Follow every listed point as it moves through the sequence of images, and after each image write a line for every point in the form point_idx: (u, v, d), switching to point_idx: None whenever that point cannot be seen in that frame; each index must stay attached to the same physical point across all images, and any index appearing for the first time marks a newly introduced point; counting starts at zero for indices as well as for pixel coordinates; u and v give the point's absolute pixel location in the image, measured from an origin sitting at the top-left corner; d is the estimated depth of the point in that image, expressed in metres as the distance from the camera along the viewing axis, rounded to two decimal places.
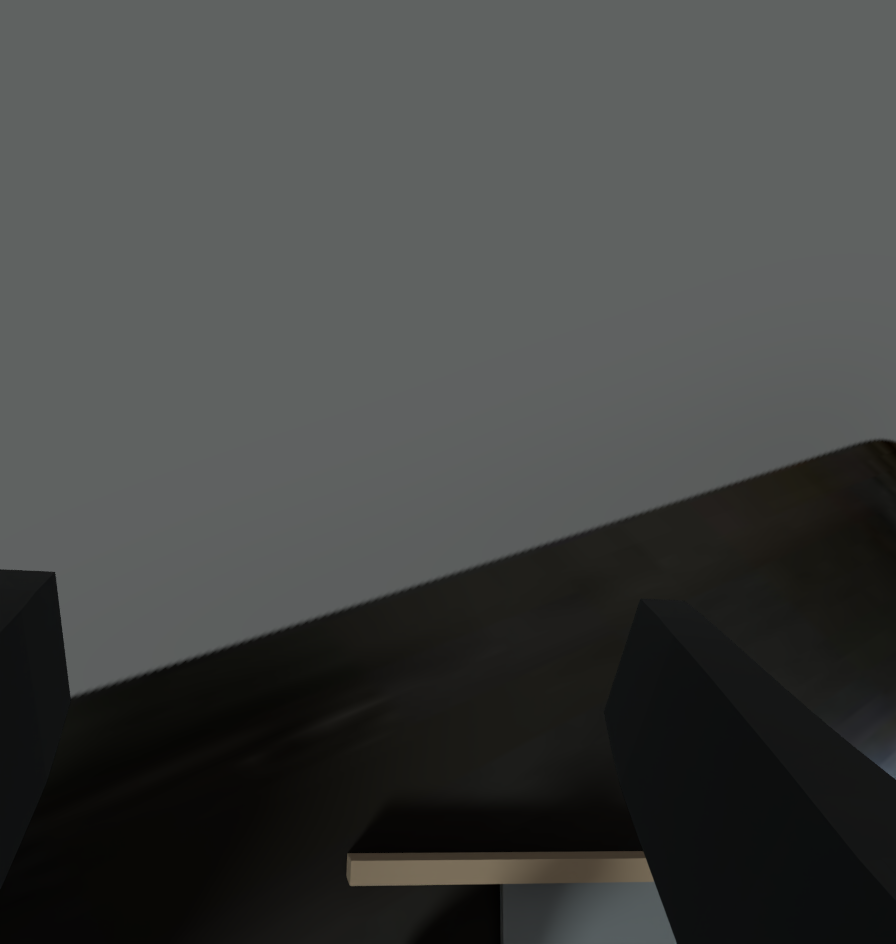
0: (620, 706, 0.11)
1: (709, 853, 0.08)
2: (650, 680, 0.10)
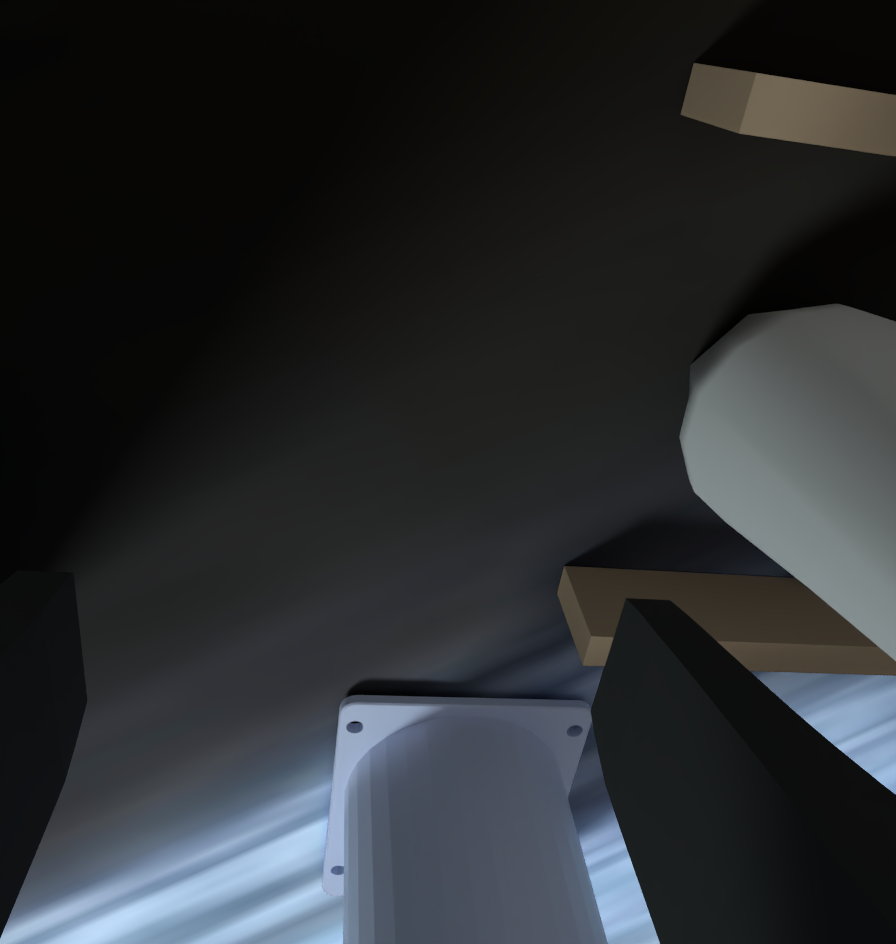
0: (606, 706, 0.11)
1: (692, 853, 0.08)
2: (635, 680, 0.10)
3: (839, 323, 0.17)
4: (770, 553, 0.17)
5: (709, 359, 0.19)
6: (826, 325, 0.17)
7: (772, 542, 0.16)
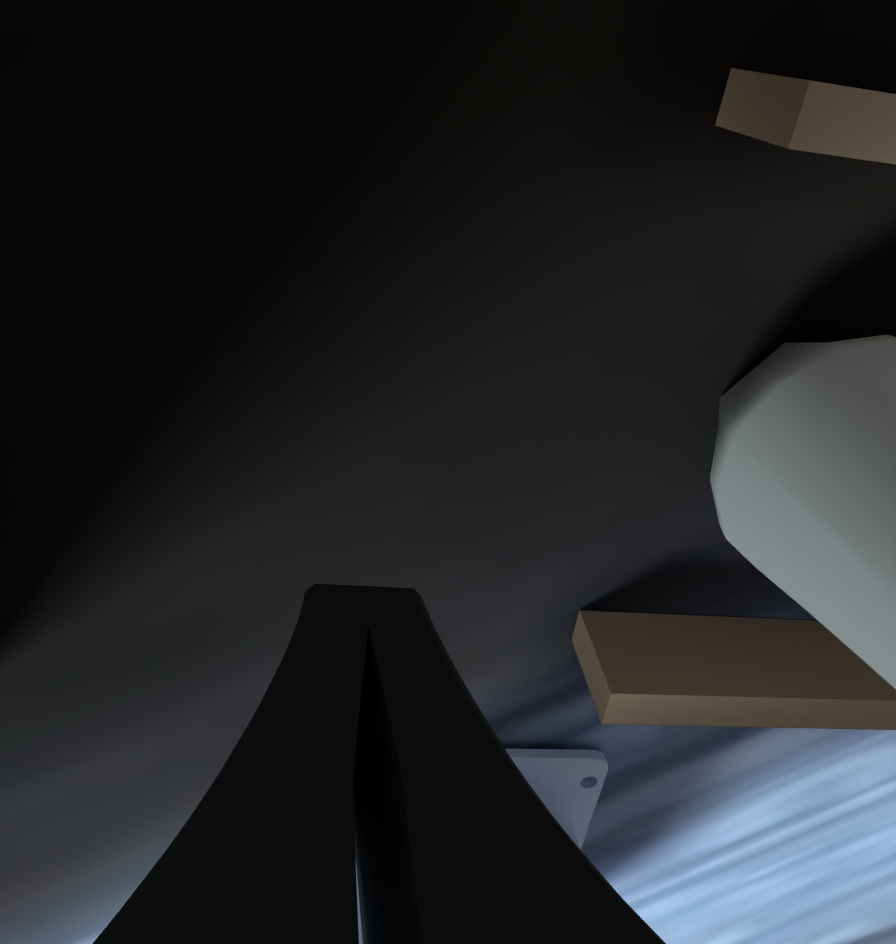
0: None
1: (374, 856, 0.08)
2: None
3: (893, 358, 0.15)
4: (816, 616, 0.15)
5: (742, 393, 0.17)
6: (878, 361, 0.15)
7: (819, 604, 0.15)
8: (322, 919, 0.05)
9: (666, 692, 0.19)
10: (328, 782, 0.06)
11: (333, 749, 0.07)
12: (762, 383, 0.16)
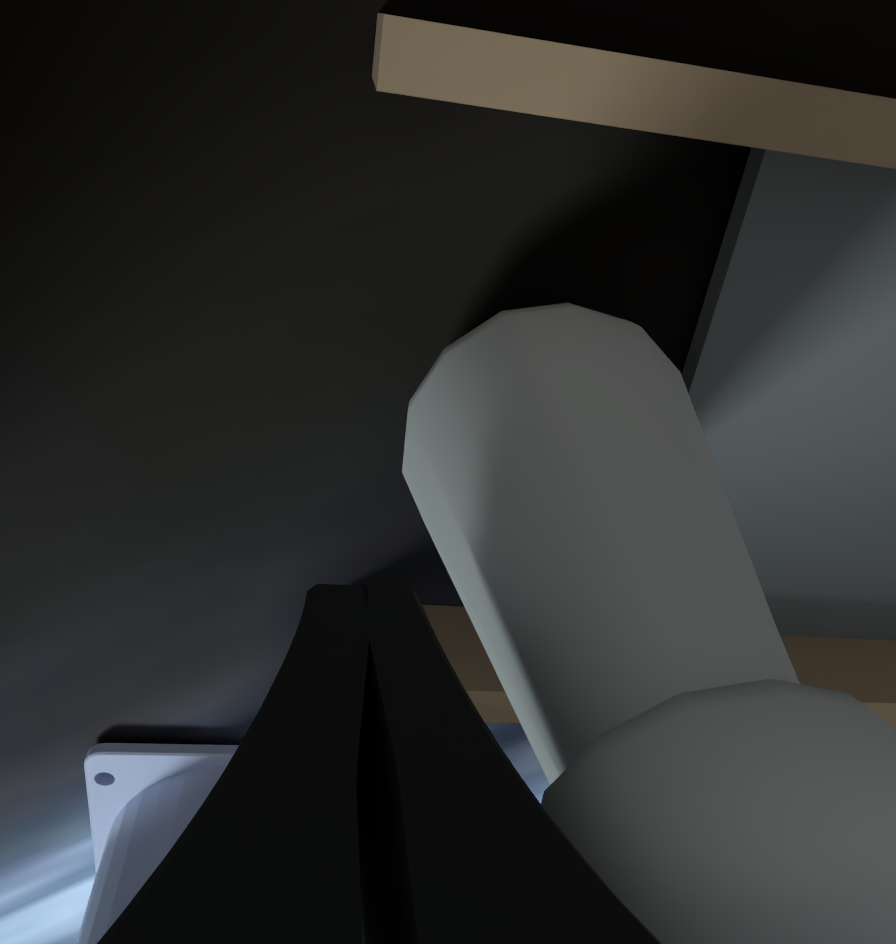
0: None
1: (371, 856, 0.08)
2: None
3: (553, 326, 0.14)
4: (463, 603, 0.14)
5: None
6: (537, 329, 0.14)
7: (461, 590, 0.13)
8: (326, 919, 0.05)
9: None
10: (331, 782, 0.06)
11: (336, 749, 0.07)
12: (439, 355, 0.15)
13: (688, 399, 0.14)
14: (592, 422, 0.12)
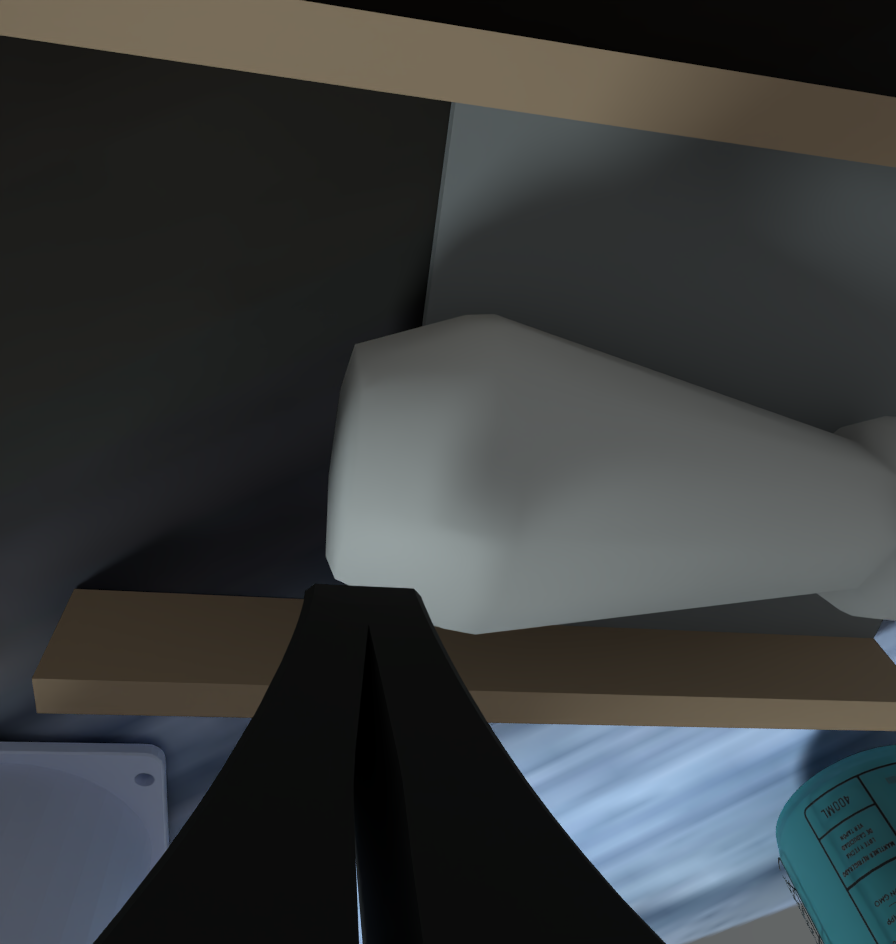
0: None
1: (374, 856, 0.08)
2: None
3: (548, 355, 0.13)
4: (632, 613, 0.15)
5: (425, 483, 0.12)
6: (552, 366, 0.13)
7: (643, 603, 0.14)
8: (322, 919, 0.05)
9: (105, 677, 0.17)
10: (328, 782, 0.06)
11: (333, 749, 0.07)
12: (492, 460, 0.12)
13: None
14: (684, 401, 0.14)
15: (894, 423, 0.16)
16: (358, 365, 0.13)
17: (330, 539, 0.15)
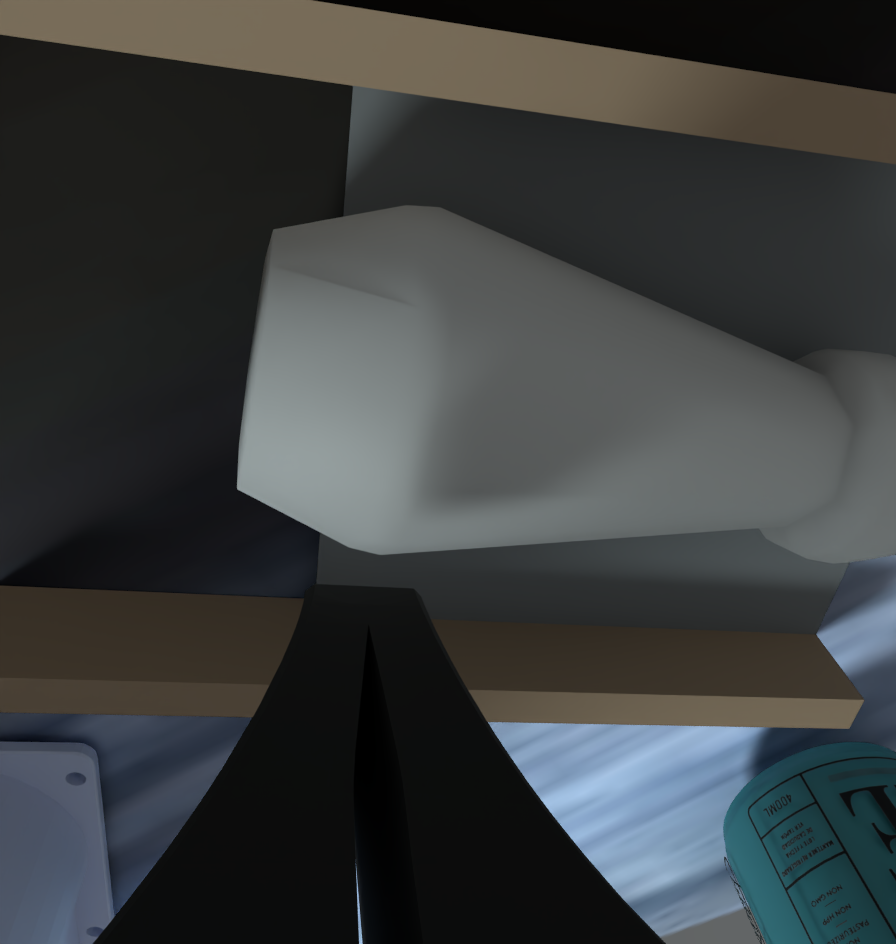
0: None
1: (374, 856, 0.08)
2: None
3: None
4: (602, 491, 0.13)
5: (346, 279, 0.11)
6: None
7: (612, 471, 0.13)
8: (322, 919, 0.05)
9: (15, 675, 0.17)
10: (328, 782, 0.06)
11: (333, 749, 0.07)
12: (415, 246, 0.11)
13: None
14: None
15: None
16: (268, 248, 0.13)
17: (242, 451, 0.13)
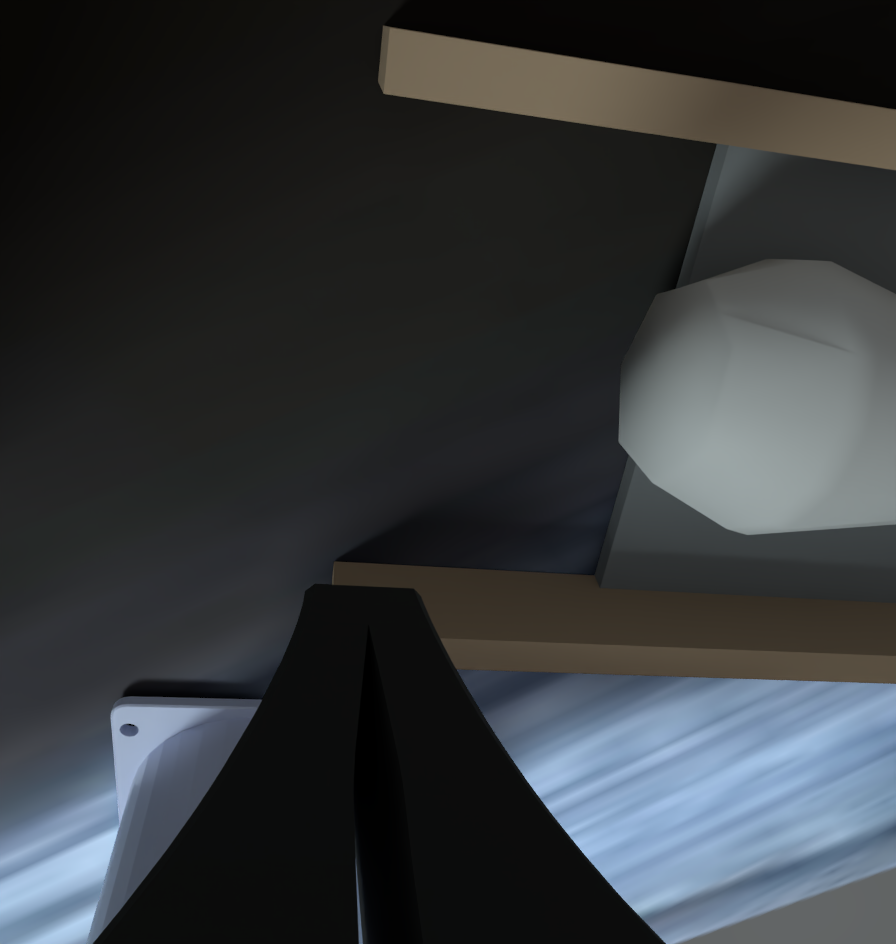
0: None
1: (374, 856, 0.08)
2: None
3: None
4: None
5: (788, 327, 0.14)
6: None
7: None
8: (322, 919, 0.05)
9: None
10: (328, 782, 0.06)
11: (333, 749, 0.07)
12: (839, 301, 0.15)
13: None
14: None
15: None
16: (679, 288, 0.16)
17: (663, 453, 0.16)
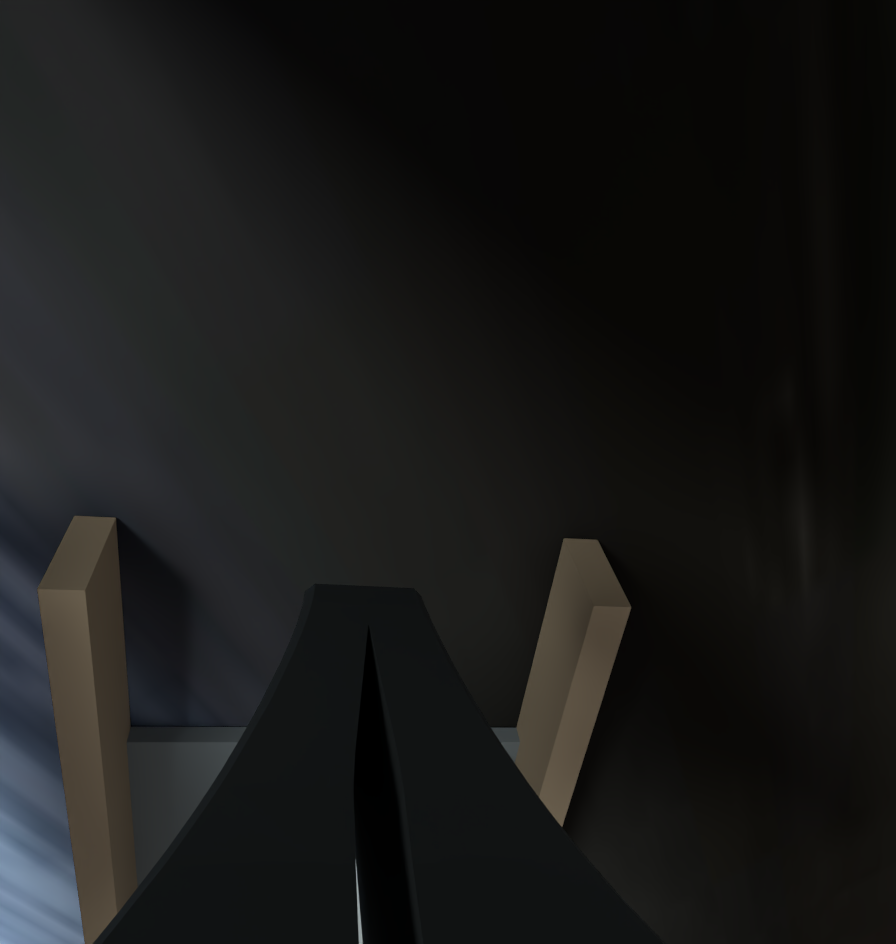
0: None
1: (374, 856, 0.08)
2: None
3: None
4: None
5: None
6: None
7: None
8: (322, 919, 0.05)
9: None
10: (328, 782, 0.06)
11: (333, 749, 0.07)
12: None
13: None
14: None
15: None
16: None
17: None
